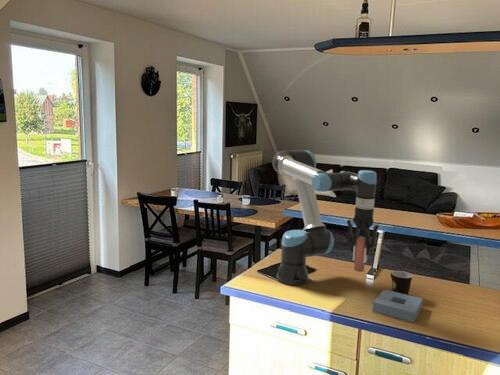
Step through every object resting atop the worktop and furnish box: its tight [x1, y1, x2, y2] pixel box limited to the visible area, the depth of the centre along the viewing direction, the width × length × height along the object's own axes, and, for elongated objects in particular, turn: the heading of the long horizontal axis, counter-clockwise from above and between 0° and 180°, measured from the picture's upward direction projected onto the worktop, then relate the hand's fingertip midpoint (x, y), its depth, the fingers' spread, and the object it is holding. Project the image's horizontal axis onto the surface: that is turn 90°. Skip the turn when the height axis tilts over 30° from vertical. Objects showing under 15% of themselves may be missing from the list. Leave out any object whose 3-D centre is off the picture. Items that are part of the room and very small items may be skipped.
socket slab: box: [372, 288, 424, 323], centre depth 173 cm, size 16×16×4 cm
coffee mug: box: [390, 270, 413, 295], centre depth 187 cm, size 12×9×10 cm
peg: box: [353, 236, 366, 272], centre depth 179 cm, size 4×4×14 cm
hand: (359, 260), depth 179 cm, fingers closed on peg, 4 cm apart
